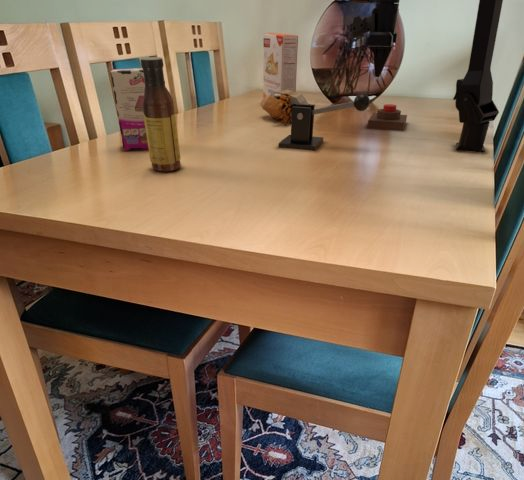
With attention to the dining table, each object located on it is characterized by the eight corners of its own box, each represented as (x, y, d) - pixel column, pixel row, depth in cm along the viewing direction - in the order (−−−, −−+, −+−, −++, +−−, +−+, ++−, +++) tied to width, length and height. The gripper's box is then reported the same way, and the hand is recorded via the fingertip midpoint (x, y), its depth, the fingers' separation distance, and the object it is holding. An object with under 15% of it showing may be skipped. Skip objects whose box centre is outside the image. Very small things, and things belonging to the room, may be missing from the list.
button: (394, 113, 131) (396, 106, 130) (382, 112, 132) (383, 105, 131) (396, 111, 134) (397, 104, 133) (383, 110, 134) (384, 103, 133)
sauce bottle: (167, 163, 101) (156, 55, 89) (187, 168, 97) (178, 57, 85) (144, 169, 96) (128, 57, 85) (163, 175, 93) (150, 59, 81)
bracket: (323, 142, 117) (326, 103, 112) (314, 151, 110) (317, 110, 104) (289, 139, 120) (290, 101, 114) (278, 148, 112) (279, 108, 107)
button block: (403, 131, 129) (405, 115, 127) (367, 128, 131) (369, 113, 129) (405, 123, 138) (408, 108, 136) (372, 120, 141) (374, 106, 138)
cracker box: (262, 104, 164) (262, 32, 151) (277, 103, 166) (279, 32, 153) (279, 110, 153) (281, 34, 141) (295, 109, 155) (299, 34, 143)
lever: (371, 108, 107) (369, 90, 105) (369, 110, 104) (367, 93, 102) (300, 122, 113) (298, 105, 111) (296, 124, 111) (294, 108, 109)
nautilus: (301, 131, 130) (249, 131, 133) (312, 112, 146) (266, 113, 149) (301, 100, 125) (247, 100, 128) (312, 84, 141) (265, 85, 144)
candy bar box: (168, 143, 115) (160, 67, 105) (170, 148, 111) (162, 69, 101) (122, 146, 112) (109, 67, 102) (123, 151, 108) (109, 70, 99)
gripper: (359, 3, 122) (352, 72, 131) (348, 2, 107) (340, 79, 117) (402, 3, 119) (392, 73, 128) (396, 3, 105) (385, 81, 114)
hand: (377, 77), depth 122 cm, fingers closed
